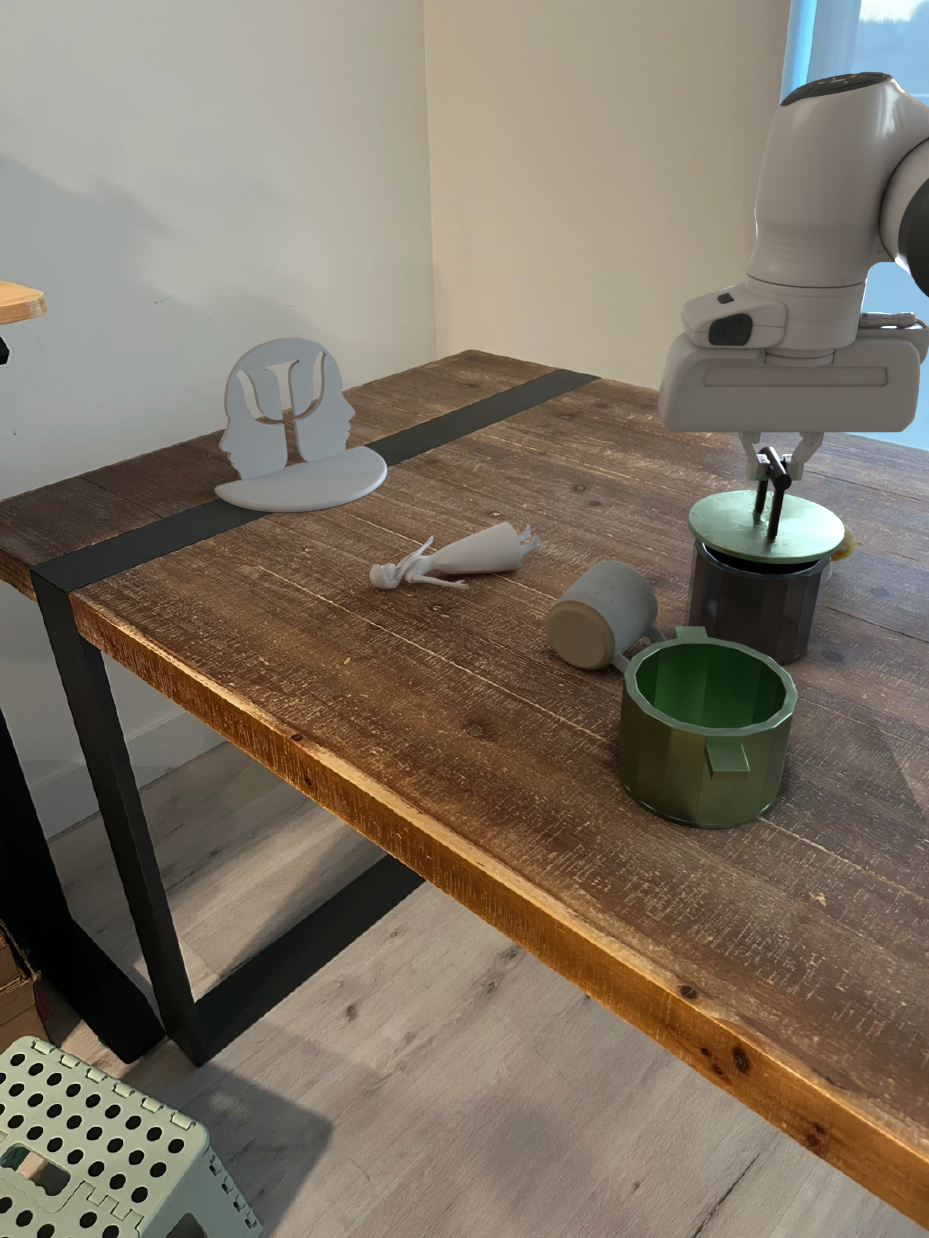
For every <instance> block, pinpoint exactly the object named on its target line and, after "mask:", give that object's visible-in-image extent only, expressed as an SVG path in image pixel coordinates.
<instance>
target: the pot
mask: <svg viewBox="0 0 929 1238" xmlns="http://www.w3.org/2000/svg"><path fill="white" fill-rule="evenodd" d="M672 635H673V639H667V641H663V642H659V643H655V644H654V643H653V644H651V645H649V646H647V647H645V648H644V649H643V650H640V651H639V652H638V653H636V654H635V655H633V656H632V658H631V660H629V661H630V663H629V665H628V667H627V668H626V670H625V672H624V673H623V679H622V680H623V681H622V692H621V705H620V716H619V727H618V740H617V749H616V750H617V751H616V761H617V774H618V778H619V781H620V783H621V786H622V787H623V789H624V790H625V792H626V794H628V796H629V797H630V798H631V799H632V800H633V801H634V802H635V803H636V804H637V805H639V807H641V808H643V809H644V810H645V811H647V812H649V813H650V814H652V815H654V816H656V817H658V818H660V819H662V820H665V821H667V822H670V823H673V824H675V825H680V826H685V827H688V828H694V829H695V828H696V829H704V830H705V829H707V830H719V829H721V830H723V829H729V828H735V827H738V826H742V825H746V824H748V823H750V822H753V821H754V820H756V819H758V818H760V817H761V816H763V815H764V814H765V813H767V812H768V810H769V809H770V808H771V807H772V806H773V804H774V802H775V801H776V798H777V797H778V793H779V788H780V785H781V781H782V776H783V772H784V767H785V762H786V756H787V751H788V747H789V741H790V737H791V732H792V726H793V722H794V717H795V712H796V707H797V703H798V698H799V694H798V690H797V688H796V685H795V683H794V681H793V679H792V676H791V674H790V673H789V672H788V671H787V670H786V669H785V668H783V666H780V665H779V664H778V663H776V662H775V661H774V660H773V659H772V658H770V657H769V656H767V655H765V654H762V653H760V652H758V651H756V650H754V649H752V648H749V647H747V646H745V645H742V644H738V643H734V642H729V641H724V640H720V639H715V638H708V636H707V633H706V630H705V627H694V626H685V625H684V626H683V625H682V626H679V625H678V626H676V625H675V626H674V628H673V634H672Z"/></svg>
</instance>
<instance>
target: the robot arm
mask: <svg viewBox="0 0 929 1238" xmlns="http://www.w3.org/2000/svg"><path fill="white" fill-rule="evenodd" d="M759 171H760V172H759V179H758V184H757V191H756V198H755V205H754V219H755V226H756V234H755V235H756V236H755V243H754V247H753V250H752V253H751V256H750V257H749V260H748V262H747V265H746V270H745V272H746V273H745V279H744V281H742V282H739V283H737V284H734V285H731V286H727V287H724V288H721V289H719V290H716V291H712V292H709V293H706V294H703V295H700V296H697V297H693V298H691V299H689V300H687V301H685V302H684V304H683V305H682V308H681V325H682V328H683V331H684V332H682V333H680V334H679V335H678V336H677V337H675V339H674V340H673V342H672V343H671V345H670V347H669V349H668V352H667V355H666V359H665V362H664V366H663V370H662V374H661V379H660V385H659V389H658V390H659V391H658V397H657V414H658V416H659V420H660V422H661V423H662V425H663V426H664V427H665V429H666V430H667V431H669V432H670V433H737V438H738V439H739V442H740V444H741V446H742V448H743V450H744V453H745V454H746V456H747V459H746V465H745V477H746V480H748V482H749V481H752V482H754V481H755V482H756V481H758V482H759V481H761V480H767V477H768V475H767V473H766V472H767V471H768V470H769V464H770V462H769V461H768V460H767V457H766V456H765V455H758V453H757V452H756V450H755V448H754V446H753V445H758V444H760V442H761V441H760V440H761V436H762V433H798V434H799V435H800V438H801V439H802V440H801V441H800V442H799V443H798V445H797V446H796V447H795V449H794V450H793V451H792V453H791V454H782V455H781V458H780V460H781V462H782V464H783V465H784V467H785V469H786V470H787V472H788V474H789V475H790V477H791V479H792V482H798V481H799V482H800V481H802V480H803V479H802V478H803V473H804V469H805V464H807V462H808V461H809V460H811V458H812V457H813V456H814V454H815V453H816V452H817V451H818V450H819V449H820V448H821V446H822V445H823V441H824V435H825V433H902V432H903V431H904V430H906V429H907V428H908V427H909V426H910V425H911V424H912V423H913V422H914V420H915V417H916V413H917V407H918V400H919V392H920V384H921V383H920V380H921V379H920V378H921V365H923V363H924V362H925V359H926V358H927V355H928V351H929V325H928V323H927V322H926V321H924V320H923V319H921V318H918V317H917V314H915V313H913V312H898V313H883V312H862V308H863V303H864V299H865V293H866V290H867V289H866V288H867V283H868V279H869V278H868V277H869V273H870V270H871V269H872V267H873V266H875V265H877V264H879V263H896V264H898V266H900V267H901V268H902V269H904V270H905V271H906V272H907V274H908V275H909V276H910V278H911V279H912V281H913V282H914V283H915V285H916V286H917V288H918V289H919V290H920V291H921V293H923V294H924V295H925V296H926V297H927V298H929V106H928V105H926V104H924V103H923V102H922V101H920V100H919V99H918V98H916V97H914V96H913V95H911V94H910V93H909V92H907V91H906V90H905V89H904V88H902V87H901V86H900V85H899V84H898V83H897V81H896V80H895V78H894V76H893V75H891V74H888V73H884V72H881V71H860V72H859V73H857V72H856V73H845V74H839V75H833V76H829V77H825V78H821V79H816V80H813V81H810V82H808V83H805V84H803V85H800V86H798V87H797V88H795V89H794V90H792V91H791V92H790V93H789V94H787V96H786V97H785V98H784V99H783V100H782V101H781V102H780V103H779V105H778V107H777V108H776V111H775V113H774V115H773V119H772V120H771V124H770V128H769V132H768V135H767V139H766V143H765V146H764V151H763V156H762V161H761V166H760V170H759ZM916 325H918V326H916Z"/></svg>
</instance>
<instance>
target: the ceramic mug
mask: <svg viewBox="0 0 929 1238" xmlns="http://www.w3.org/2000/svg"><path fill="white" fill-rule="evenodd" d="M658 613H659V605H658V599H657V596H656V593H655V591H654V589H653V587H652V586H651V584H650V582H649V581H648V580H647V579H646V577H645V576H644V575H642V573H641V572H639V571H638V570H637V569H636V568H634V567H633V566H631V565H630V564H627V563H624V562H622V561H617V560H603V561H600V562H596V563H595V564H593V565H592V566H590V567H589V568H588V569H587V570H586V571H585V572H584V573H583V574H582V575H581V576H580V577H579V578H578V579H577V580H576V581H575V582H574V583H573V584H572V585H571V586H569V588H568V589H567V590H566V591H565V592H564V593H563V594H562V595H561V596H560V597H559V598H558V599H557V600H556V601H555V602H554V604H553V606H552V607H551V609H550V610H549V612H548V614H547V617H546V621H545V632H546V635H547V638H548V641H549V644H550V645H551V647H552V648H553V650H554V651H555V653H557V655H558V656H559V657H560V658H561V659H562V660H563V661H565V662H566V663H568V664H569V665H571V666H573V667H574V668H577V669H580V670H585V671H595V670H600V669H603V668H604V667H606V666H608V665H613V666H614V667H615V668H616V669H617V670H618V671H619V672H621V673H622V674H624V672H625V670H626V668H627V667H628V665H629V663H630V661H631V660H629V659H628V658H627V657H626V656H624V655H623V654H624V653H625V652H626V651H627V650H628V649H629V648H630V647H631V646H633V645H635V644H636V643H637V642H638V641H639V640H640V639H641V638H642V637H643V636H646V637H647V638H648V639H649V640H650V642H651V643H653V644H655V643H659V642H663V641H667V640H668V638H667V637H666V635H665V634H664V633H663V631H662V630H661V629H660V628H659V627H658V626H657V625H656V624H655V623H656V620H657V617H658Z"/></svg>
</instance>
